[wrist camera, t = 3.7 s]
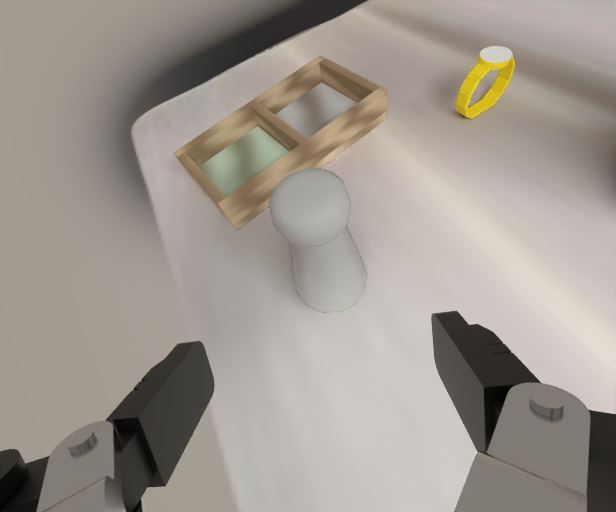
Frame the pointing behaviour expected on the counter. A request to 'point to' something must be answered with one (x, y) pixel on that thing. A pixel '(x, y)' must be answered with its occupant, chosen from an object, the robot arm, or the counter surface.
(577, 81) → the counter surface
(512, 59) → the watch
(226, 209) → the tray
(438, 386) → the counter surface
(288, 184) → the salt shaker
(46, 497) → the robot arm
